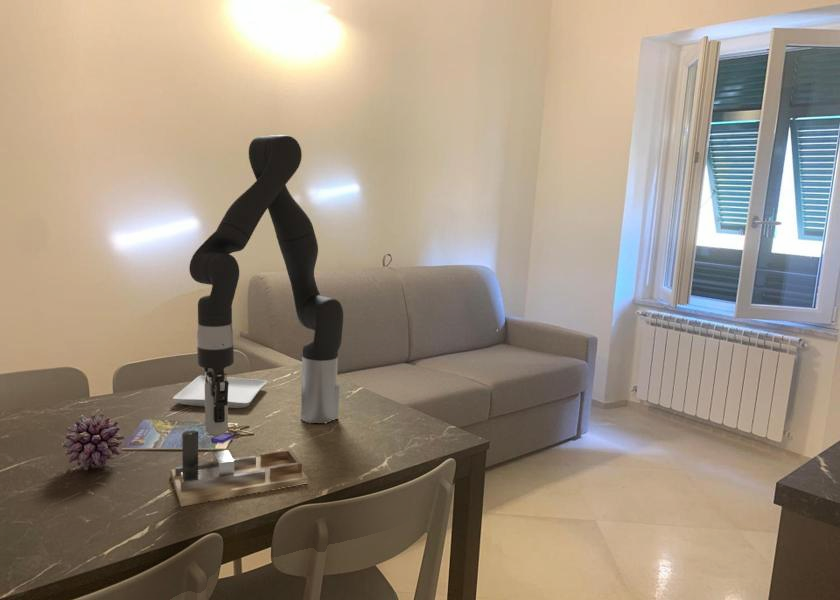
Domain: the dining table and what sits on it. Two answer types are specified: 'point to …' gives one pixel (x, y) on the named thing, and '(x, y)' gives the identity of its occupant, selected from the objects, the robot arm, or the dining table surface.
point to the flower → (93, 441)
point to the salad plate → (238, 392)
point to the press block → (190, 472)
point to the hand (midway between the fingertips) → (216, 417)
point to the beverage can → (210, 425)
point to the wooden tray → (242, 478)
